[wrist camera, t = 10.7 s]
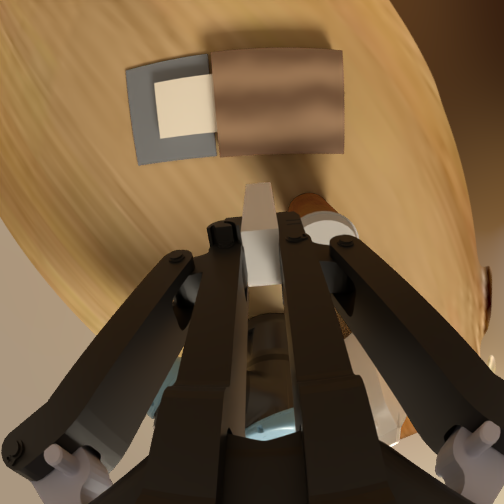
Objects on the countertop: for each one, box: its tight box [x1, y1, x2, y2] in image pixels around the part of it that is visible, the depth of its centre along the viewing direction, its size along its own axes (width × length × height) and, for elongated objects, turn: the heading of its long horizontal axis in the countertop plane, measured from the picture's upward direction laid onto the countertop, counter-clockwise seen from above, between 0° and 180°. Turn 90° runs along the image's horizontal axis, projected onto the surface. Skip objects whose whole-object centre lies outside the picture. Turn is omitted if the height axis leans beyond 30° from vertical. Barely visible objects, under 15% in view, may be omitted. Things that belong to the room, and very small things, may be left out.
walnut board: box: [211, 48, 344, 157], centre depth 32 cm, size 14×16×4 cm
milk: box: [344, 333, 407, 447], centre depth 49 cm, size 12×12×26 cm
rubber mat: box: [126, 54, 217, 166], centre depth 35 cm, size 15×12×1 cm
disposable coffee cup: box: [288, 193, 359, 245], centre depth 38 cm, size 10×10×12 cm
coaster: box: [154, 74, 217, 139], centre depth 33 cm, size 8×8×2 cm
